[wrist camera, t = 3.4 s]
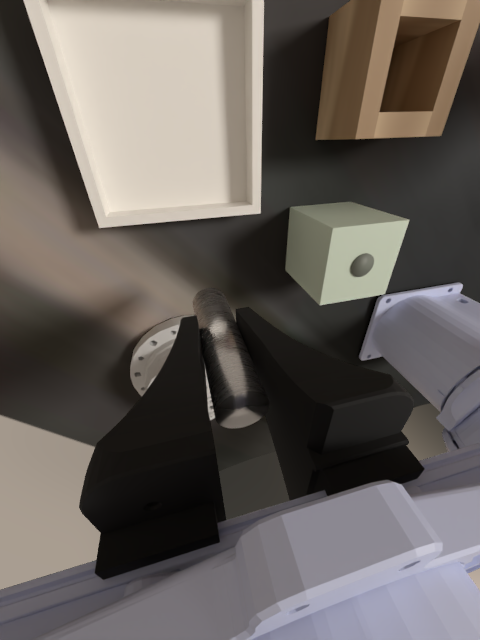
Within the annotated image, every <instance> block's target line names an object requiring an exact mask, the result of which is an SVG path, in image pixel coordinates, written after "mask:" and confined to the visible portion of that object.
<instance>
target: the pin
mask: <svg viewBox="0 0 480 640" xmlns="http://www.w3.org/2000/svg"><path fill="white" fill-rule="evenodd" d="M193 308H194V313H195V315H197V319H198V324H199V331H200V338H201V345H202V354H203V359H204V364H205V369H206V374H207V379H208V384H209V389H210V394H211V399H212V404H213V409H214V414H215V419H216V421H217V423H218V424H220V425H221V426H223V427H226V428H242V427H246V426H249V425H251V424H253V423H255V422H257V421H258V420H260V419H261V418H262V417H263V416H264V415H265V414H266V412H267V411H268V408H269V400H268V397H267V395H266V393H265V390H264V388H263V385H262V383H261V381H260V378H259V376H258V374H257V371H256V369H255V366H254V364H253V362H252V359H251V357H250V355H249V352H248V350H247V347H246V345H245V343H244V340H243V338H242V335H241V333H240V331H239V328H238V326H237V324H236V321H235V319H234V316H233V314H232V312H231V309H230V307H229V304H228V302H227V300H226V297H225V295H224V294H223V293H222V292H221V291H220V290H218V289H215V288H206V289H203V290H201V291H200V292H198V293H197V294H196V296H195V297H194V300H193Z"/></svg>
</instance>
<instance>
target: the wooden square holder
mask: <svg viewBox="0 0 480 640" xmlns="http://www.w3.org/2000/svg"><path fill="white" fill-rule="evenodd" d="M479 23H480V0H351V1H349V2H348V3H347V4H345V5H344V6H343V7H341V8H340V9H339V10H337V11H336V12H335V13H333V14H332V15H331V16H329V25H328V34H327V43H326V52H325V60H324V69H323V78H322V87H321V96H320V104H319V113H318V122H317V131H316V139H315V140H338V139H373V138H400V137H427V136H441V135H442V132H443V129H444V126H445V123H446V120H447V117H448V114H449V111H450V108H451V106H452V103H453V100H454V97H455V94H456V91H457V88H458V85H459V82H460V79H461V76H462V73H463V70H464V67H465V64H466V61H467V58H468V56H469V53H470V50H471V47H472V44H473V41H474V38H475V35H476V32H477V29H478V26H479Z"/></svg>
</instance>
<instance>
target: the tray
mask: <svg viewBox="0 0 480 640" xmlns="http://www.w3.org/2000/svg"><path fill="white" fill-rule="evenodd" d="M23 1H24V4H25V7H26V10H27V13H28V16H29V19H30V22H31V25H32V28H33V31H34V34H35V37H36V40H37V43H38V46H39V49H40V52H41V55H42V58H43V61H44V64H45V67H46V70H47V73H48V76H49V79H50V82H51V85H52V88H53V91H54V94H55V97H56V100H57V103H58V106H59V109H60V112H61V115H62V118H63V121H64V124H65V127H66V130H67V133H68V136H69V139H70V142H71V145H72V148H73V151H74V154H75V157H76V160H77V163H78V166H79V169H80V172H81V175H82V178H83V181H84V184H85V187H86V190H87V193H88V196H89V199H90V202H91V205H92V208H93V211H94V214H95V217H96V220H97V223H98V226H99V228H105V227H116V226H127V225H138V224H149V223H160V222H171V221H182V220H193V219H204V218H215V217H226V216H237V215H248V214H259V213H261V155H262V92H263V30H264V0H23Z"/></svg>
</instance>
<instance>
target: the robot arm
mask: <svg viewBox="0 0 480 640" xmlns="http://www.w3.org/2000/svg"><path fill="white" fill-rule="evenodd" d="M462 287H463V285H462V284H461V283H452V284H446V285H440V286H434V287H428V288H423V289H417V290H411V291H405V292H399V293H393V294H387V295H382V296H380V297H379V298H378V299H377V301H376V304H375V308H374V311H373V314H372V317H371V320H370V323H369V326H368V330H367V333H366V336H365V339H364V342H363V345H362V348H361V352H360V355H359V358H360V360H362V361H364V360H369V359H373V358H378V357H382V356H383V357H384V358H385V359H386V360H387V361H388V362H389V363H390V364H391V365H392V366H393V367H394V368H395V369H396V370H397V371H398V372H399V373H400V374H402V375H403V376H404V377H405V378H406V379H407V380H408V381H409V382H410V383H411V384H412V385H413V386H414V387H415V388H416V389H417V390H418V391H419V392H420V393H421V394H422V395H423V396H424V397H425V398H426V399H428V400H429V401H430V402H431V403H432V404H433V405H434V406H435V407H436V408H437V409H438V410H439V411H440V412H441V413H440V414H439V415H438V416H437V417H436V419H437V420H438V421H439V422H440V423H441V424H442V425H443V426H444V427H445V428H444V429H443V432H442V436H443V439H444V442H445V445H446V448H447V450H448V452H446V453H443V454H440V455H437V456H433V457H430V458H427V459H424V460H420V461H418V460H417V458H416V457H415V456H414V455H413V454H412V452H411V451H410V450H409V449H408V447H407V446H406V445H408V443H409V441H408V439H407V438H406V437H405V435H404V434H403V433H402V432H401V430H402V429H403V427H404V425H405V423H406V422H407V420H408V418H409V416H410V415H411V412H412V410H413V398H412V397H411V395H410V394H409V393H408V392H407V391H406V390H405V389H404V388H403V387H402V386H401V385H400V384H399V383H398V382H397V381H396V380H395V379H394V378H393V377H392V376H391V375H389V374H385V373H381V372H377V371H373V370H369V369H365V368H361V367H358V366H355V365H352V364H349V363H346V362H343V361H340V360H337V359H334V358H332V357H329V356H327V355H325V354H322V353H320V352H318V351H315V350H313V349H311V348H309V347H307V346H305V345H303V344H301V343H299V342H298V341H296V340H294V339H292V338H291V337H289V336H288V335H286V334H284V333H283V332H281V331H280V330H278V329H277V328H275V327H274V326H273V325H271V324H270V323H268V322H267V321H266V320H264V319H263V318H262V317H261V316H259V315H258V314H257V313H256V312H254V311H253V310H252V309H251V308H249V307H246V308H240V309H236V324H237V326H238V328H239V331H240V333H241V335H242V338H243V340H244V343H245V345H246V347H247V350H248V352H249V355H250V357H251V359H252V362H253V364H254V366H255V369H256V371H257V374H258V376H259V378H260V381H261V383H262V385H263V388H264V390H265V393H266V395H267V397H268V400H269V408H268V411H267V412H266V414H265V417H266V420H267V423H268V426H269V430H270V433H271V436H272V439H273V443H274V446H275V449H276V453H277V456H278V460H279V463H280V466H281V470H282V473H283V477H284V481H285V484H286V488H287V492H288V495H289V499H290V501H287V502H284V503H281V504H277V505H274V506H271V507H268V508H264V509H261V510H258V511H255V512H251V513H248V514H245V515H242V516H239V517H235V518H232V519H229V520H226V516H225V510H224V503H223V496H222V490H221V484H220V478H219V471H218V465H217V458H216V452H215V446H214V440H213V434H212V429H211V423H210V418H209V412H208V401H207V387H206V374H205V365H204V359H203V354H202V345H201V338H200V331H199V324H198V319H197V315H195V316H189V317H183V318H182V319H181V320H180V326H179V330H178V333H177V336H176V339H175V341H174V344H173V346H172V349H171V351H170V353H169V355H168V357H167V359H166V361H165V363H164V364H163V366H162V368H161V370H160V371H159V373H158V375H157V376H156V378H155V379H154V381H153V382H152V384H151V385H150V386H149V388H148V389H147V391H146V392H145V393H144V394H143V396H142V397H141V398H140V400H139V401H138V402H137V403H136V404H135V405H134V406H133V408H132V409H131V410H130V411H129V412H128V413H127V415H126V416H125V417H124V418H123V419H122V420H121V421H120V422H119V423H118V424H117V425H116V426H115V427H114V428H113V429H112V430H111V431H110V432H109V433H108V434H107V435H105V436H104V437H103V438H102V439H101V440H100V441H99V442H98V443H97V445H96V447H95V450H94V453H93V455H92V458H91V461H90V463H89V466H88V469H87V473H86V476H85V480H84V485H83V489H82V494H81V499H80V505H79V508H80V510H81V512H82V513H83V515H84V516H85V517H86V518H87V519H88V520H89V521H90V522H91V523H92V524H93V525H94V526H95V527H96V528H97V529H98V530H99V531H100V532H101V535H100V542H99V548H98V554H97V560H95V561H92V562H89V563H86V564H83V565H79V566H76V567H73V568H70V569H66V570H63V571H60V572H56V573H53V574H50V575H47V576H44V577H41V578H37V579H34V580H31V581H27V582H24V583H21V584H17V585H14V586H11V587H8V588H4V589H1V590H0V640H480V590H479V589H478V588H477V586H476V585H475V584H474V582H473V581H472V579H471V578H470V576H469V575H468V573H470V572H472V571H475V570H477V569H479V568H480V303H478V302H476V301H474V300H472V299H470V298H468V297H466V296H464V295H462V294H460V291H461V290H462Z"/></svg>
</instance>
